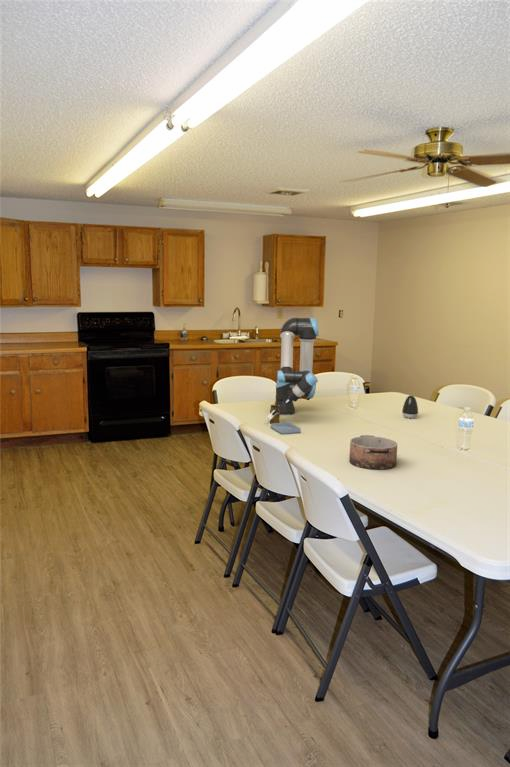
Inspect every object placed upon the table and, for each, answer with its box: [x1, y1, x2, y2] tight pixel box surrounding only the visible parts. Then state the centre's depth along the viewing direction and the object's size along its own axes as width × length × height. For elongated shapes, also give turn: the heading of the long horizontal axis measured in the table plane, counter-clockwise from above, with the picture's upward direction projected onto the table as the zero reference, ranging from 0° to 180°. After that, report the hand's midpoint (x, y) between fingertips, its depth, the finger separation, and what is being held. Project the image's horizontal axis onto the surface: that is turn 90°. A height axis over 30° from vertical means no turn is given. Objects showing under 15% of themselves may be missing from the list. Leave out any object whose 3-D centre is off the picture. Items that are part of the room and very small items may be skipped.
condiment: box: [269, 404, 281, 424], centre depth 358 cm, size 7×8×12 cm
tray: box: [270, 421, 302, 436], centre depth 342 cm, size 12×16×3 cm
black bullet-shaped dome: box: [401, 395, 419, 419], centre depth 386 cm, size 10×10×15 cm
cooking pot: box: [349, 434, 398, 471], centre depth 280 cm, size 30×22×11 cm
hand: (271, 415), depth 358 cm, fingers open, 13 cm apart
